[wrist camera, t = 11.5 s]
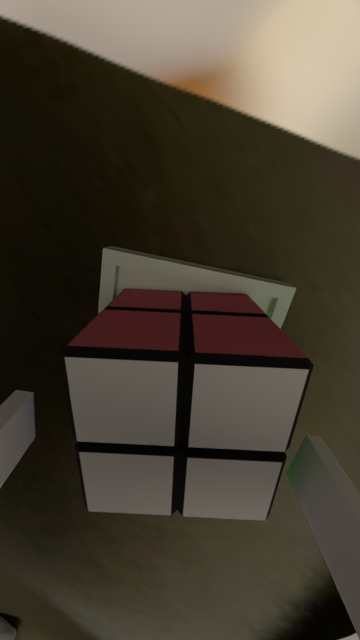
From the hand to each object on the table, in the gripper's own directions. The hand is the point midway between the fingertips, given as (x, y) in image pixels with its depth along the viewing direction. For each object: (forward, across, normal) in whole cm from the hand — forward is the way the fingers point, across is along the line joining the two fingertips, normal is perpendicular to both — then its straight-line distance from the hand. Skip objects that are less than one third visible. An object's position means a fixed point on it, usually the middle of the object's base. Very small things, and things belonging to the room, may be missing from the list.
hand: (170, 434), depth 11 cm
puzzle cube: (+9, +1, 0) cm, 9 cm away
